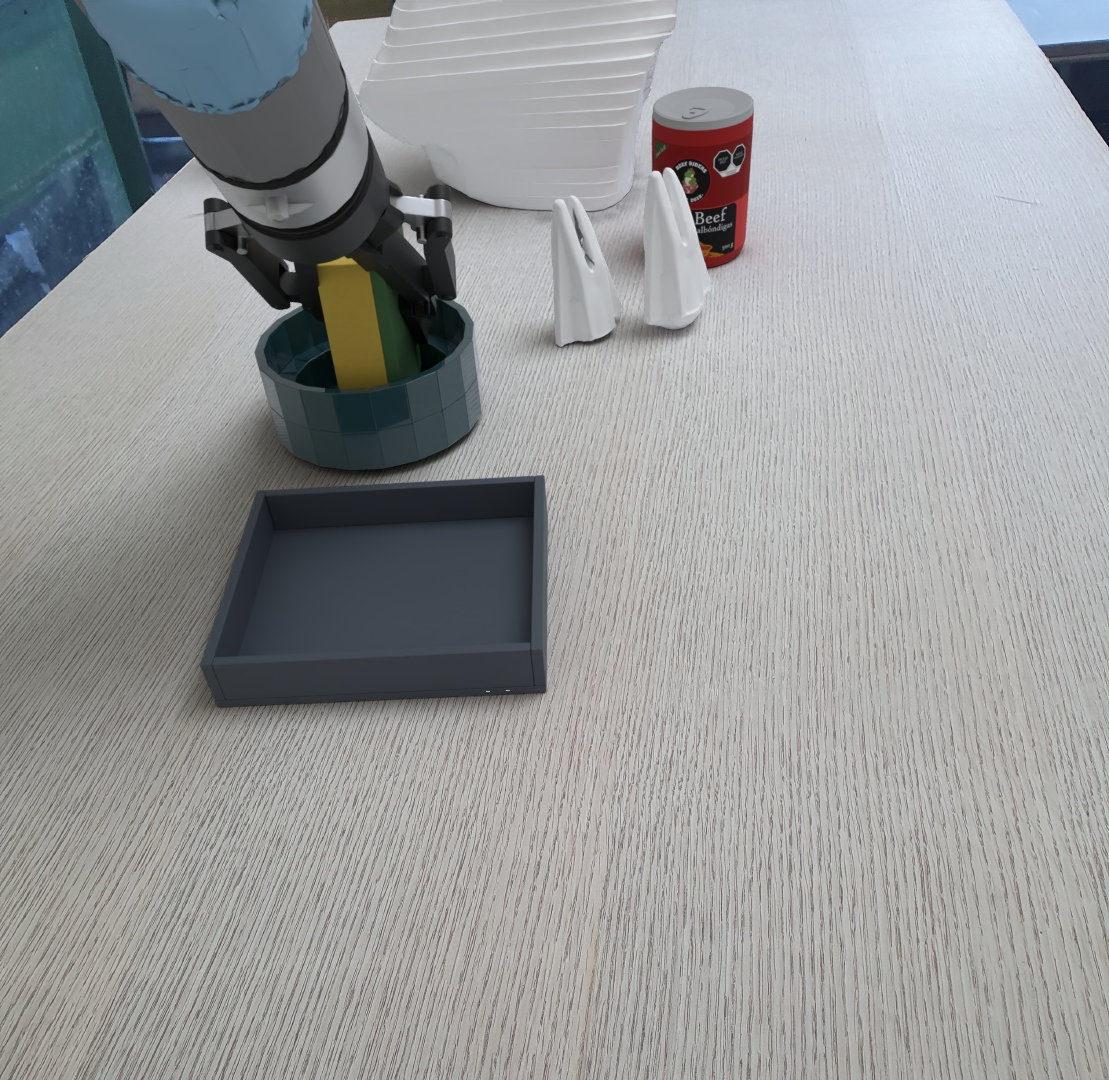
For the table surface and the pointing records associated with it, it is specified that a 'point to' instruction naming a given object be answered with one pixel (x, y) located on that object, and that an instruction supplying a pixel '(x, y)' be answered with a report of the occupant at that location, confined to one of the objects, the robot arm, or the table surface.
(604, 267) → the shaker set
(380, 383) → the sponge
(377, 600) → the tray
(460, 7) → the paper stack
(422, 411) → the bowl
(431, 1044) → the table surface
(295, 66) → the robot arm
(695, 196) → the canned food
